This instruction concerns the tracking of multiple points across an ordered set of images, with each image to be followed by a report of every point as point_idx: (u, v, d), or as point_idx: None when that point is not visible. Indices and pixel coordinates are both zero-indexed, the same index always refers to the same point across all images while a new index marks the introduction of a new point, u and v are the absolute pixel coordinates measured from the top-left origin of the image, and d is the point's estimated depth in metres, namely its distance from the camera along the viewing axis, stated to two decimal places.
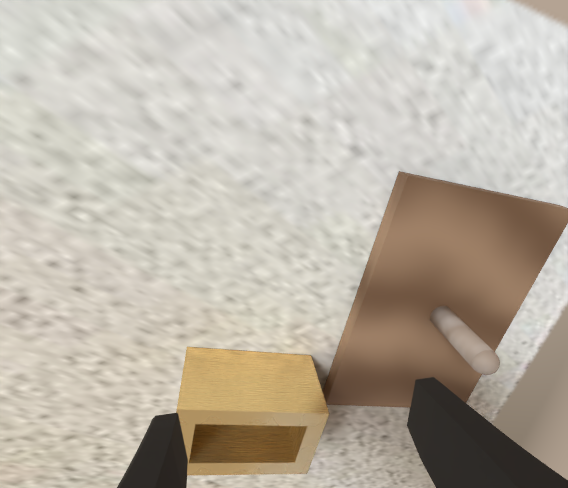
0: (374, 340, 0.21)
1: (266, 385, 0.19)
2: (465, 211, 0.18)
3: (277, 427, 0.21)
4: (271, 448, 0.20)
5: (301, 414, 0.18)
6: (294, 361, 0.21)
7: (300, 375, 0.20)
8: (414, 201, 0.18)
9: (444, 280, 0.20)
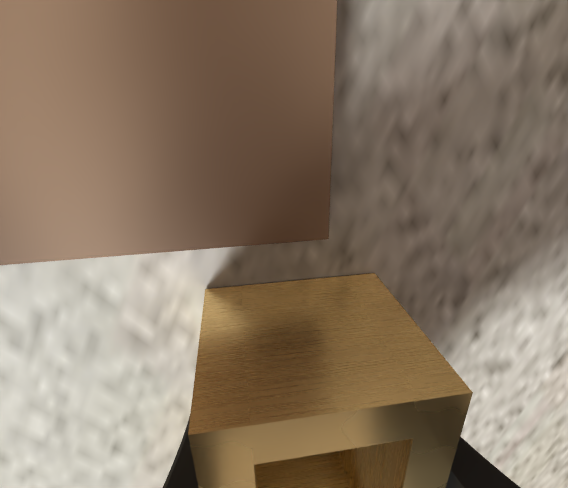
0: (64, 182, 0.07)
1: None
2: None
3: None
4: None
5: None
6: None
7: None
8: None
9: None
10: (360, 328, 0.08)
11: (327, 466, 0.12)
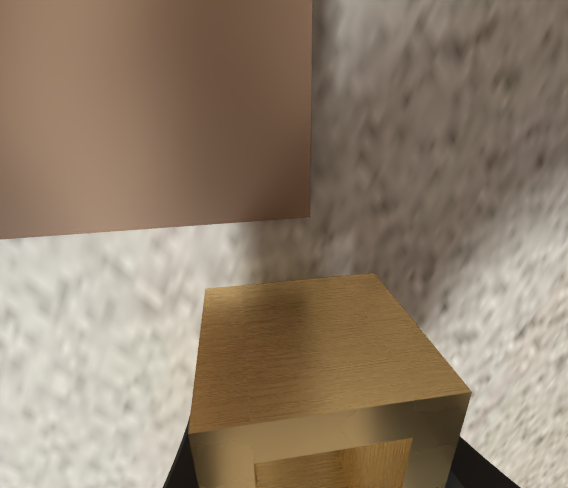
0: (92, 168, 0.08)
1: None
2: None
3: None
4: (386, 441, 0.08)
5: None
6: None
7: None
8: None
9: None
10: (360, 327, 0.08)
11: (327, 466, 0.12)
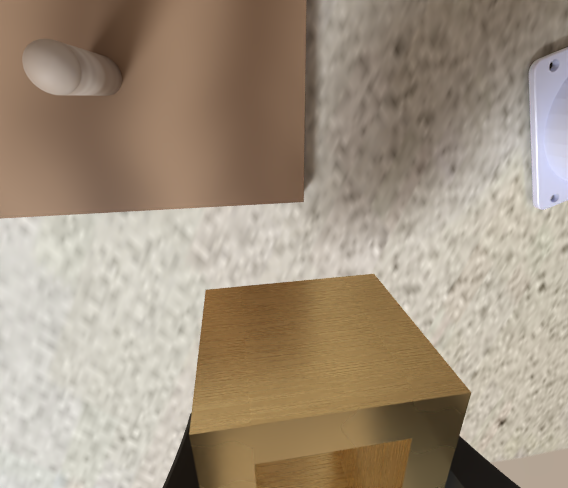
0: (179, 170, 0.15)
1: None
2: None
3: None
4: None
5: None
6: None
7: None
8: None
9: (41, 99, 0.13)
10: (360, 328, 0.08)
11: (327, 466, 0.12)
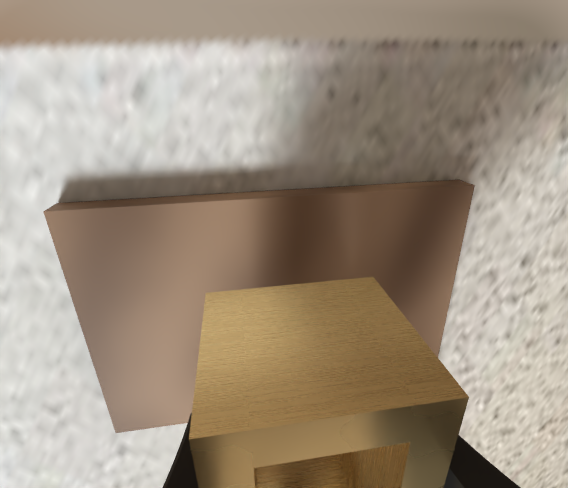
0: None
1: None
2: (125, 363, 0.14)
3: None
4: None
5: None
6: None
7: None
8: (140, 415, 0.16)
9: None
10: (359, 332, 0.08)
11: (327, 467, 0.12)
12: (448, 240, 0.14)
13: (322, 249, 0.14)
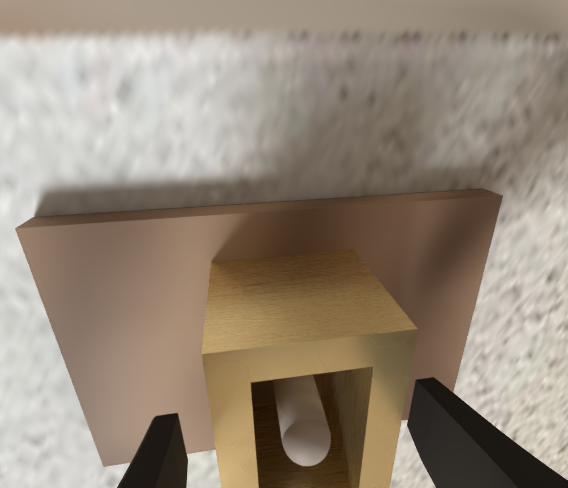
0: None
1: None
2: (112, 393, 0.13)
3: None
4: (357, 379, 0.10)
5: (215, 403, 0.08)
6: None
7: None
8: (130, 448, 0.14)
9: None
10: (337, 288, 0.10)
11: None
12: (471, 256, 0.13)
13: None
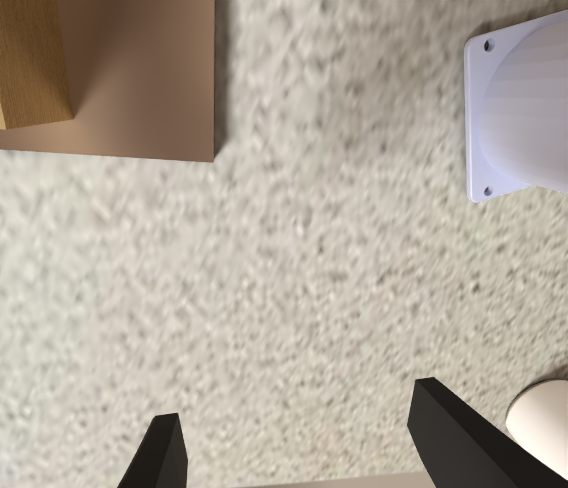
0: None
1: None
2: None
3: None
4: None
5: None
6: None
7: None
8: None
9: None
10: None
11: None
12: None
13: None
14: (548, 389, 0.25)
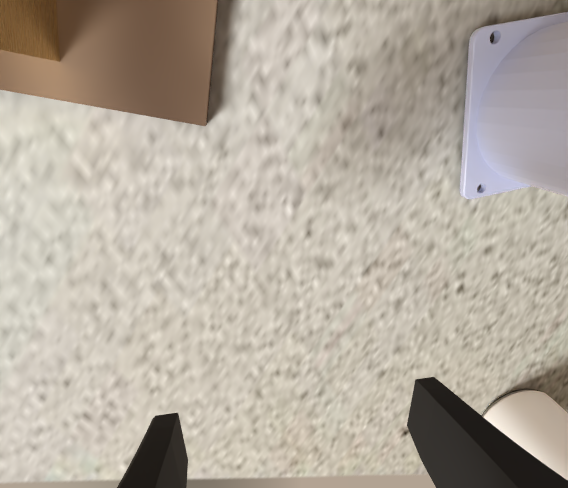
0: None
1: None
2: None
3: None
4: None
5: None
6: None
7: None
8: None
9: None
10: None
11: None
12: None
13: None
14: (522, 398, 0.25)
